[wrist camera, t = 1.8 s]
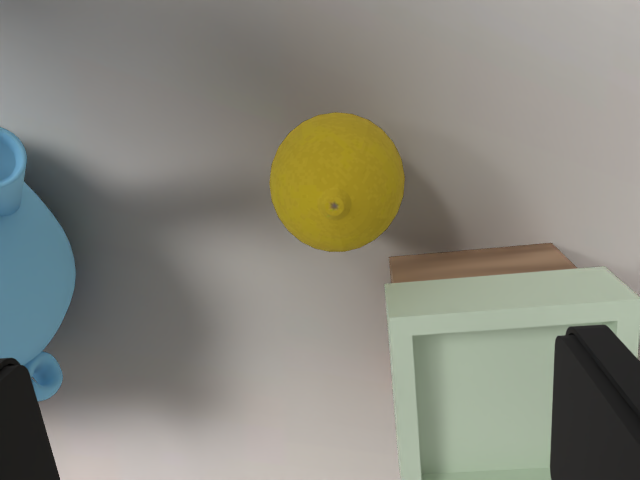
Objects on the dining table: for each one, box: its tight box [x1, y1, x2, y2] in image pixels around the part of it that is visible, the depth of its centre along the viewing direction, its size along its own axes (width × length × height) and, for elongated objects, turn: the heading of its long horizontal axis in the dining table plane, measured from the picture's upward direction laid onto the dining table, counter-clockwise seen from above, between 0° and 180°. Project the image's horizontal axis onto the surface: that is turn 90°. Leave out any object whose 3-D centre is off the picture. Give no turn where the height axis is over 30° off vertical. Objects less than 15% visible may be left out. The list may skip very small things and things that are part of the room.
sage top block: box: [384, 266, 640, 480], centre depth 24 cm, size 9×9×3 cm
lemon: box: [269, 112, 405, 252], centre depth 24 cm, size 6×6×8 cm
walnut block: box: [389, 243, 577, 283], centre depth 28 cm, size 8×8×5 cm
